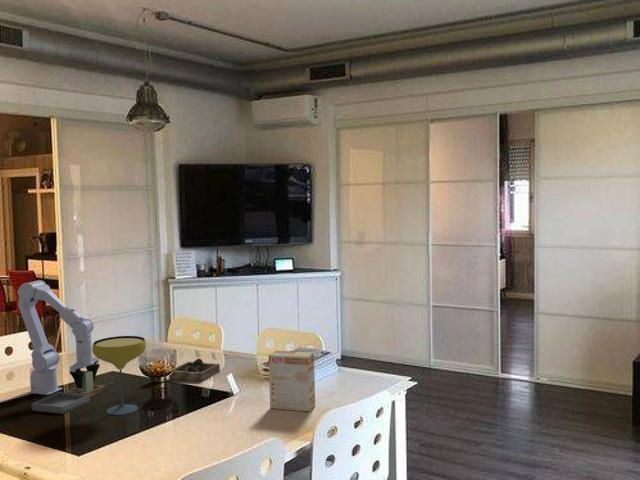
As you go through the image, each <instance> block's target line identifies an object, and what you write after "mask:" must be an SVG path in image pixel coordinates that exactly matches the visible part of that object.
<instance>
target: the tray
mask: <svg viewBox="0 0 640 480" xmlns="http://www.w3.org/2000/svg"><path fill="white" fill-rule="evenodd" d="M90 398H91V397H90V395H84V394H74V393H66V392H61V391H57V392H55V393H52V394H50V395H47V396H46V397H44V398H42V399H39V400H37V401H34V402H32V403H30V404H31V411H33V412H40V413H41V412H42V413H52V414H62V415H64V414H66V413H69V412H71V411H72V410H75V409H77V408H79V407H81V406H84V405H85V404H87V403H90V402H91V400H90Z"/></svg>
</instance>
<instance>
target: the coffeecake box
mask: <svg viewBox="0 0 640 480" xmlns="http://www.w3.org/2000/svg"><path fill="white" fill-rule="evenodd" d="M315 376H316V375H315V353H314V352H308V351H307V352H305V351H304V352H303V351H288V350H287V351H285V350H275V351H272V353H270V354H268V378H269V379H268V380H269V381H268V382H269V409H273V408H274V409H275V410H284V409H285V410H286V411H295V412H297V411H298V412H305V411H308V412H307V413H309V412H310V411H312V410H313V409H314V408H315V407H316V386H315V385H316V383H315V382H316V381H315V379H316V378H315ZM314 406H315V407H314ZM313 407H314V408H313ZM312 408H313V409H312Z"/></svg>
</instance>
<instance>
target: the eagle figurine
mask: <svg viewBox="0 0 640 480" xmlns="http://www.w3.org/2000/svg"><path fill="white" fill-rule="evenodd" d="M192 362H193V365H192V367H191V366H187V367H186V368H185V371H186V372H198V373H200V371H198V370H199V369H200V366H202V364H203V363H204V362H203V360H202V359H201V358H197V359H195V360H194V361H192ZM197 368H199V369H197Z"/></svg>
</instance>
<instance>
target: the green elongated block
mask: <svg viewBox="0 0 640 480" xmlns="http://www.w3.org/2000/svg"><path fill="white" fill-rule="evenodd" d="M84 371H85V372H84V375H83V386H82V388H78V392H86V393H88V392H90V391H92V390H94V389H93V385H94V383H93V372H92V371H87V370H84Z"/></svg>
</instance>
